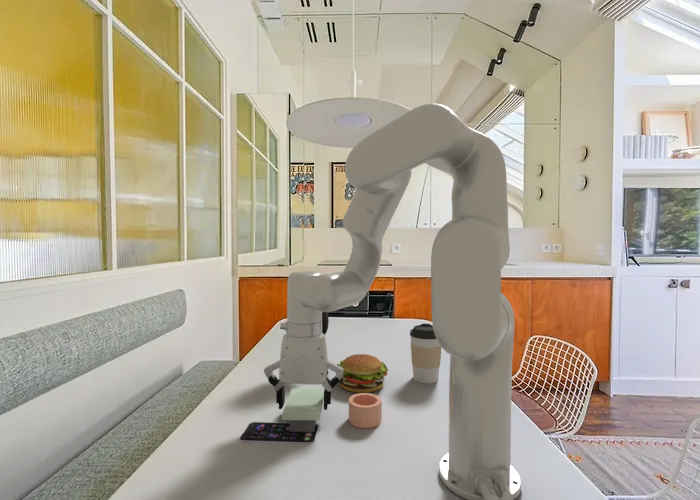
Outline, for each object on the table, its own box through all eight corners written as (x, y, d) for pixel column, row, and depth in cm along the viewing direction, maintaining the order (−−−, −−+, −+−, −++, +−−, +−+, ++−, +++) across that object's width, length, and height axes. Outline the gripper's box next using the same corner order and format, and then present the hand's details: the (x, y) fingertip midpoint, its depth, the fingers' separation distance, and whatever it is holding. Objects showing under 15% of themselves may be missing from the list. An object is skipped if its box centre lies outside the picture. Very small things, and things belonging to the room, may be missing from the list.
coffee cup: (442, 386, 97) (443, 330, 97) (408, 383, 99) (409, 329, 98) (441, 374, 106) (441, 323, 105) (410, 372, 108) (410, 321, 107)
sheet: (319, 420, 72) (319, 413, 72) (282, 420, 72) (282, 413, 72) (324, 394, 84) (324, 388, 84) (292, 394, 84) (292, 388, 84)
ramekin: (382, 428, 75) (382, 407, 75) (348, 428, 75) (348, 407, 75) (379, 412, 82) (380, 393, 82) (349, 412, 82) (349, 393, 82)
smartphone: (314, 442, 69) (237, 440, 70) (314, 445, 69) (237, 443, 70) (319, 423, 77) (250, 421, 78) (319, 426, 77) (250, 424, 78)
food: (396, 381, 100) (397, 353, 100) (370, 400, 89) (370, 368, 88) (355, 371, 108) (355, 345, 108) (326, 387, 96) (326, 357, 96)
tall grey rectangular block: (314, 432, 73) (314, 417, 73) (289, 432, 73) (289, 417, 73) (318, 409, 83) (318, 396, 83) (297, 409, 83) (297, 396, 83)
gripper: (260, 332, 74) (259, 414, 75) (344, 334, 74) (342, 415, 75) (268, 324, 82) (268, 398, 82) (344, 325, 82) (343, 399, 82)
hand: (303, 406), depth 79 cm, fingers open, 9 cm apart
